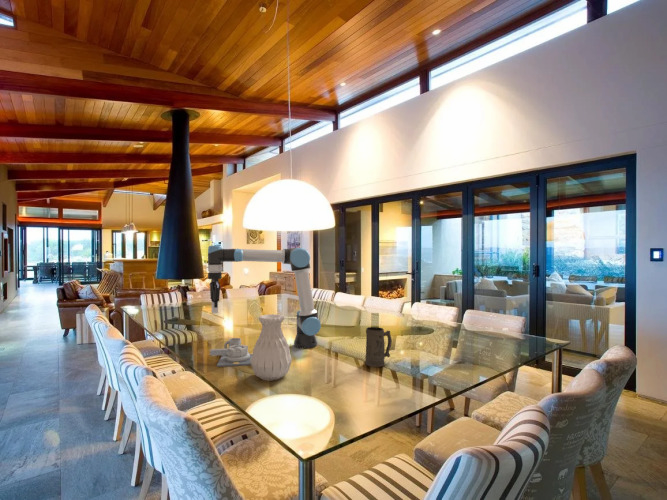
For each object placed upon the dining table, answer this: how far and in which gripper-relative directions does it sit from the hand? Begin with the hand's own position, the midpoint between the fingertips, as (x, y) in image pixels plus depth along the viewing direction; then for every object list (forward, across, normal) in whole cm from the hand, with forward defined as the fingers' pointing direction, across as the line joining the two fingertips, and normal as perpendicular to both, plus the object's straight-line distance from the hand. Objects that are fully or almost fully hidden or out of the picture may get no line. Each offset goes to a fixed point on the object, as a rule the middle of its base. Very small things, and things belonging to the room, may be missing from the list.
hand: (214, 312), depth 207 cm
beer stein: (+27, +60, +73) cm, 98 cm away
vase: (+27, +46, +15) cm, 55 cm away
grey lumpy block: (+23, +10, +5) cm, 25 cm away
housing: (+26, +12, +10) cm, 31 cm away
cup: (+27, -2, +11) cm, 29 cm away
